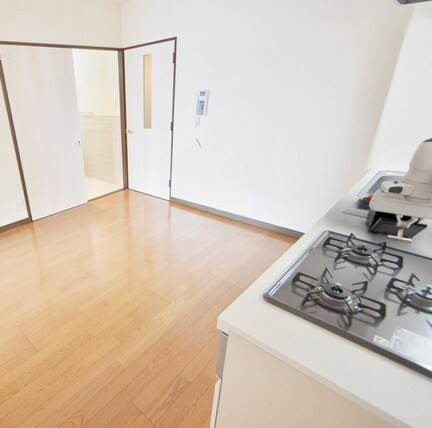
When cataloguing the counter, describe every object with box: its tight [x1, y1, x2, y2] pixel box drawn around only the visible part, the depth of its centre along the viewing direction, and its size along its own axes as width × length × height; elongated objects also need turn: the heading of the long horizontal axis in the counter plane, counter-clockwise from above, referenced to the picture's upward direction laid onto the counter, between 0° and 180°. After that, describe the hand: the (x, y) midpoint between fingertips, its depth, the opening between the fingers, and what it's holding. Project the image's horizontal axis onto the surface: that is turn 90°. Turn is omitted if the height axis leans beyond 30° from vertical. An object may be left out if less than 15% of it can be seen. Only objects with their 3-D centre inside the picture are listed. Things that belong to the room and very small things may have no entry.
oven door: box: [371, 217, 428, 243], centre depth 100 cm, size 7×12×12 cm
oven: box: [365, 209, 420, 238], centre depth 108 cm, size 12×12×14 cm
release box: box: [356, 196, 370, 211], centre depth 130 cm, size 8×8×4 cm
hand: (402, 226), depth 95 cm, fingers closed
